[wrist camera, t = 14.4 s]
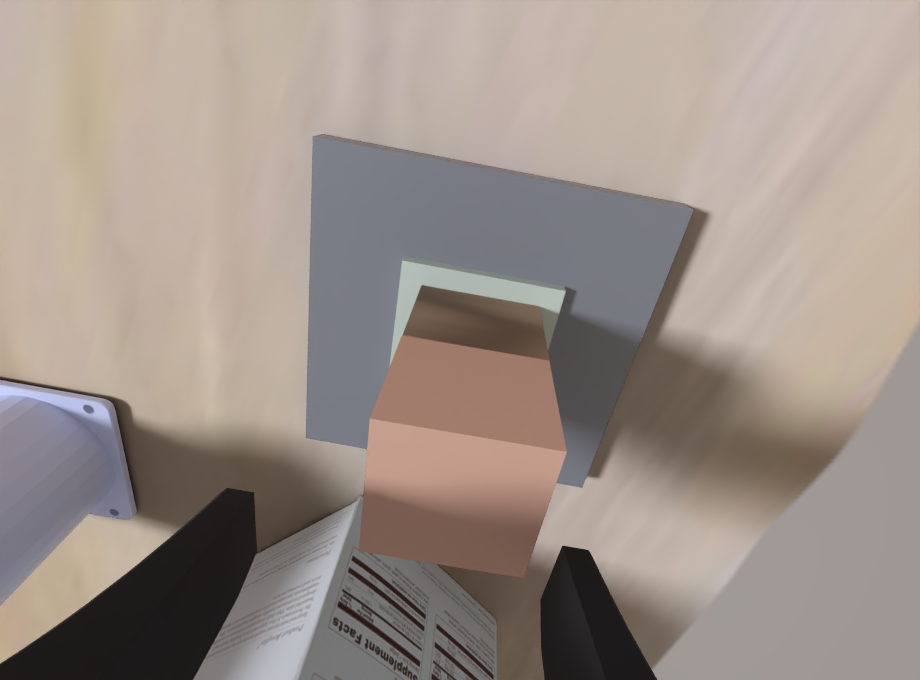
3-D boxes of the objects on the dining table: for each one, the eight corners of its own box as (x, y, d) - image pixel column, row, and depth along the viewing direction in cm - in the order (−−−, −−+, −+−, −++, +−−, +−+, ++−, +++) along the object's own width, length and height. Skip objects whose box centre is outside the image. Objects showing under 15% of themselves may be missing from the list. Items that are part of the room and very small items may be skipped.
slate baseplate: (313, 424, 23) (301, 445, 22) (322, 134, 17) (307, 137, 15) (578, 472, 23) (583, 495, 22) (683, 203, 17) (699, 213, 16)
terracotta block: (388, 449, 16) (358, 551, 13) (401, 335, 14) (369, 418, 10) (517, 471, 16) (523, 578, 13) (549, 360, 14) (566, 451, 11)
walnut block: (408, 383, 20) (388, 448, 16) (421, 284, 18) (402, 334, 14) (513, 402, 20) (517, 471, 16) (539, 306, 18) (549, 361, 14)
